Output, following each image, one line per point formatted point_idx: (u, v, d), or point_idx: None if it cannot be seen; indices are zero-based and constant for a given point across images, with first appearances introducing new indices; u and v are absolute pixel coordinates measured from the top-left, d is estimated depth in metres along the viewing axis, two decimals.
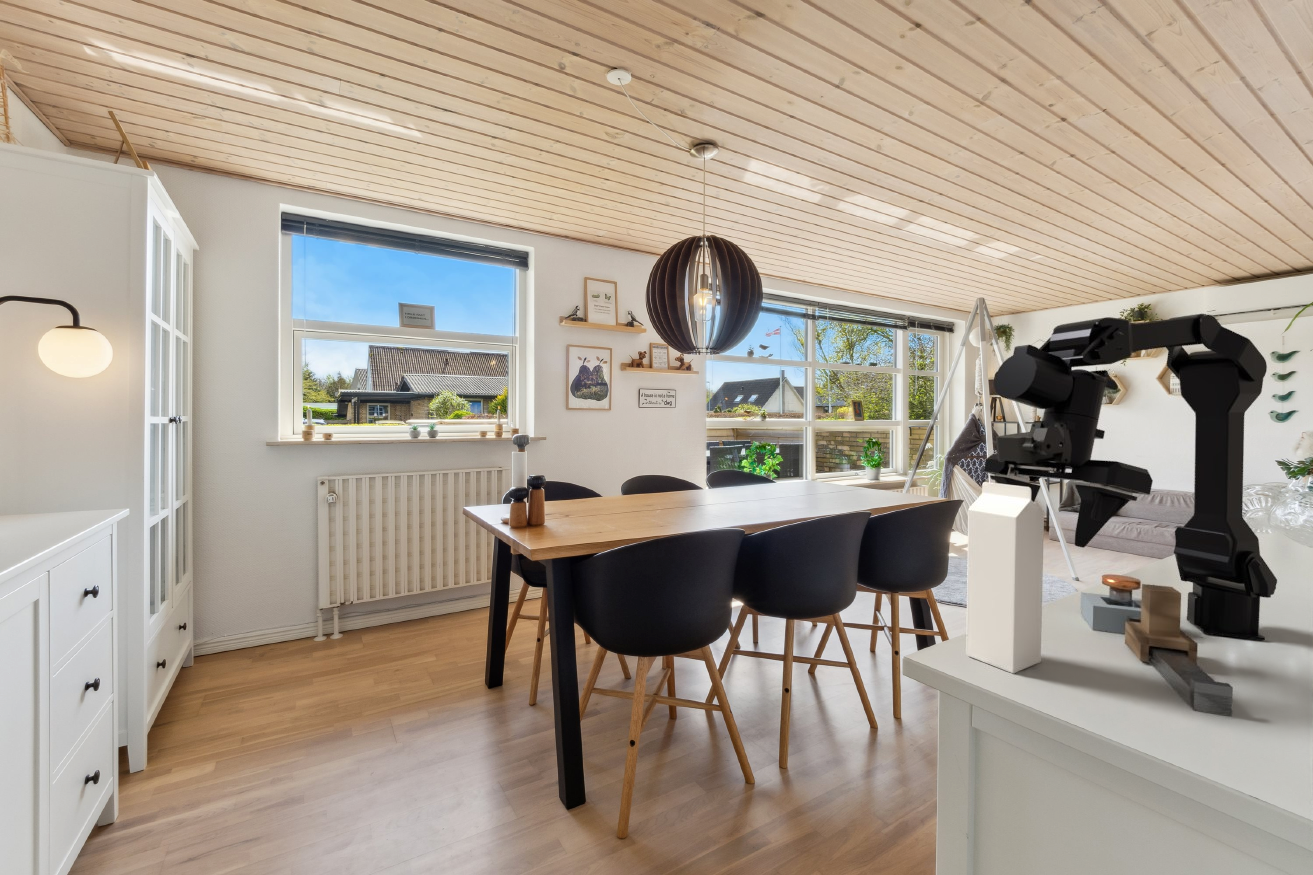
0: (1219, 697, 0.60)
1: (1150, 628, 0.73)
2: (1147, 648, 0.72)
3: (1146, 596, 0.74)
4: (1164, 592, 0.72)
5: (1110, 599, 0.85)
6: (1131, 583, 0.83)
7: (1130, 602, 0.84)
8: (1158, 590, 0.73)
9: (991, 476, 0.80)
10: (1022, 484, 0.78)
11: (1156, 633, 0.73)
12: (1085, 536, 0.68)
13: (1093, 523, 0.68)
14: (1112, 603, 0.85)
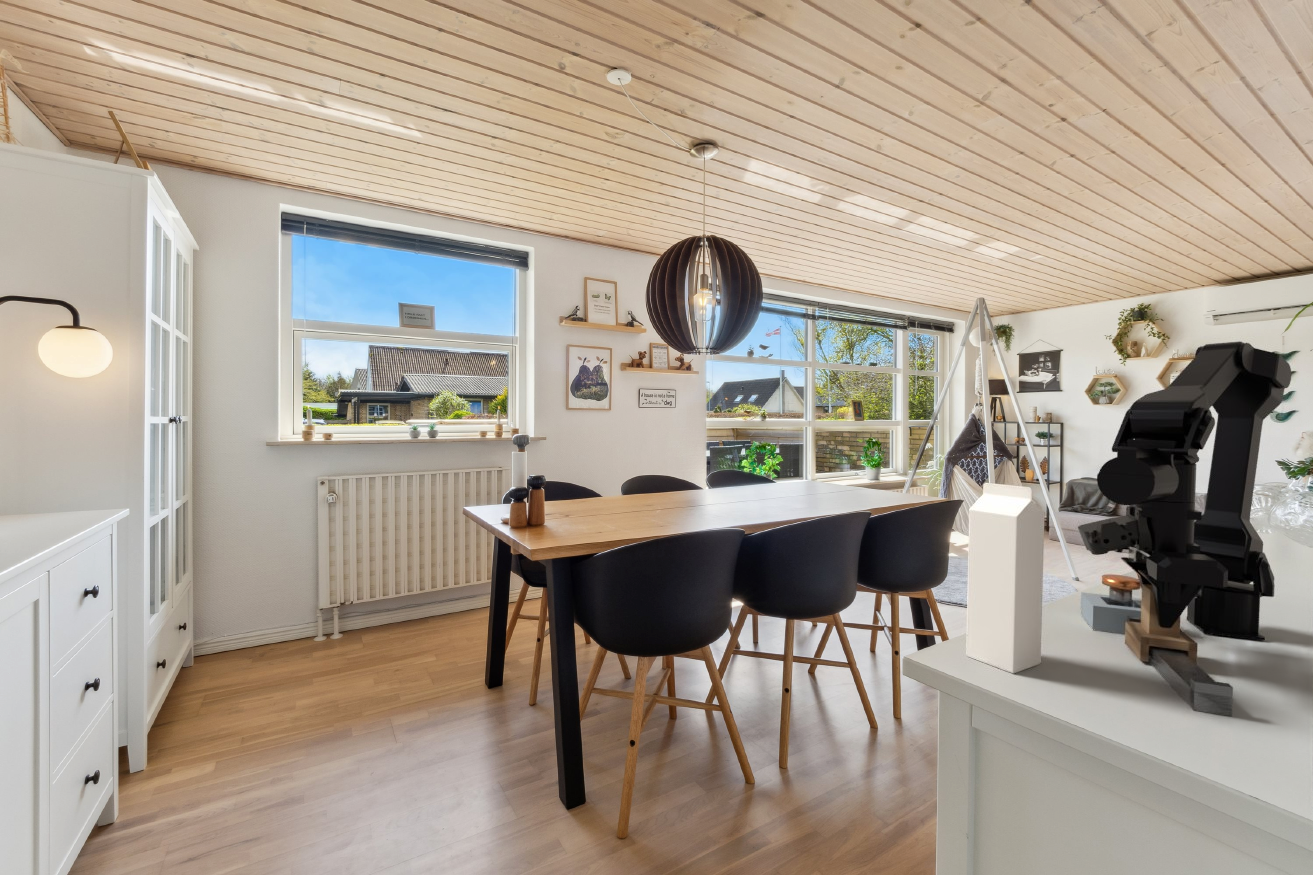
0: (1219, 697, 0.60)
1: (1150, 628, 0.73)
2: (1147, 648, 0.72)
3: (1146, 596, 0.74)
4: None
5: (1110, 599, 0.85)
6: (1131, 583, 0.83)
7: (1130, 602, 0.84)
8: None
9: None
10: None
11: (1156, 633, 0.73)
12: (1166, 618, 0.72)
13: (1170, 606, 0.71)
14: (1112, 603, 0.85)
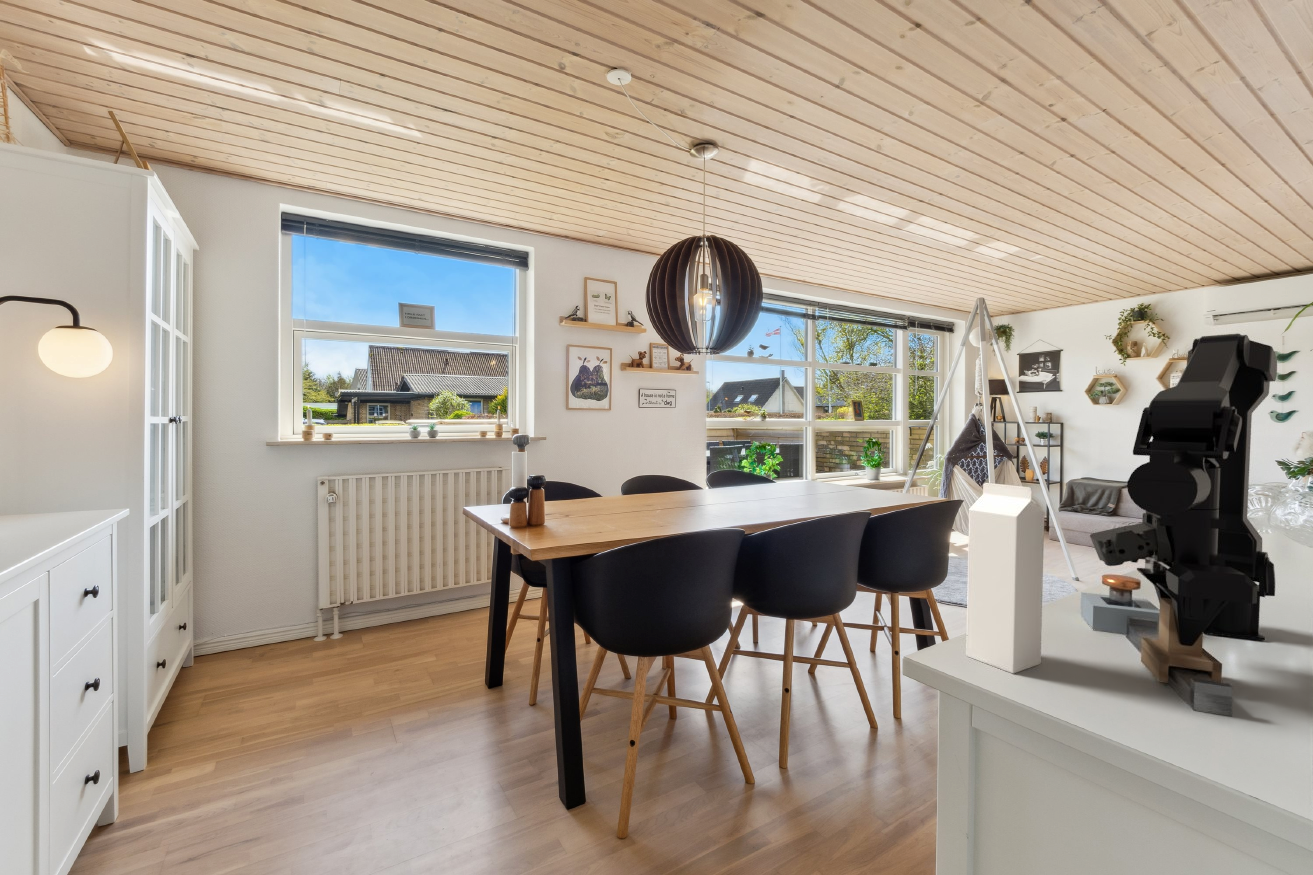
0: (1219, 697, 0.60)
1: (1169, 646, 0.67)
2: (1166, 668, 0.66)
3: (1165, 611, 0.68)
4: None
5: (1110, 599, 0.85)
6: (1131, 583, 0.83)
7: (1130, 602, 0.84)
8: None
9: (1137, 569, 0.73)
10: None
11: (1176, 652, 0.67)
12: (1187, 635, 0.66)
13: (1191, 622, 0.65)
14: (1112, 603, 0.85)
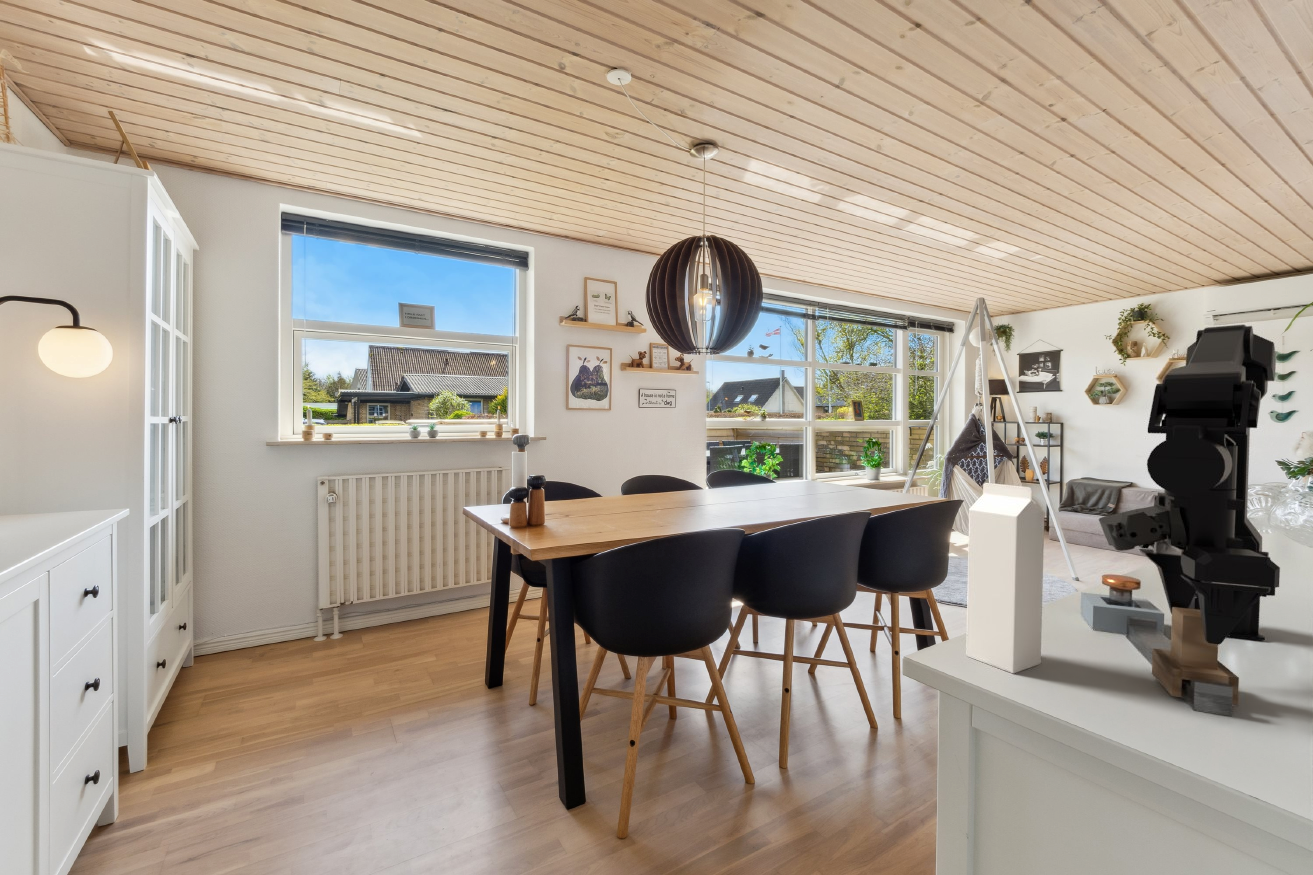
0: (1219, 697, 0.60)
1: (1183, 658, 0.64)
2: (1180, 682, 0.63)
3: (1177, 621, 0.65)
4: (1199, 617, 0.63)
5: (1110, 599, 0.85)
6: (1131, 583, 0.83)
7: (1130, 602, 0.84)
8: (1192, 615, 0.64)
9: (1140, 550, 0.72)
10: (1177, 559, 0.69)
11: (1190, 664, 0.63)
12: (1214, 632, 0.60)
13: (1220, 617, 0.59)
14: (1112, 603, 0.85)
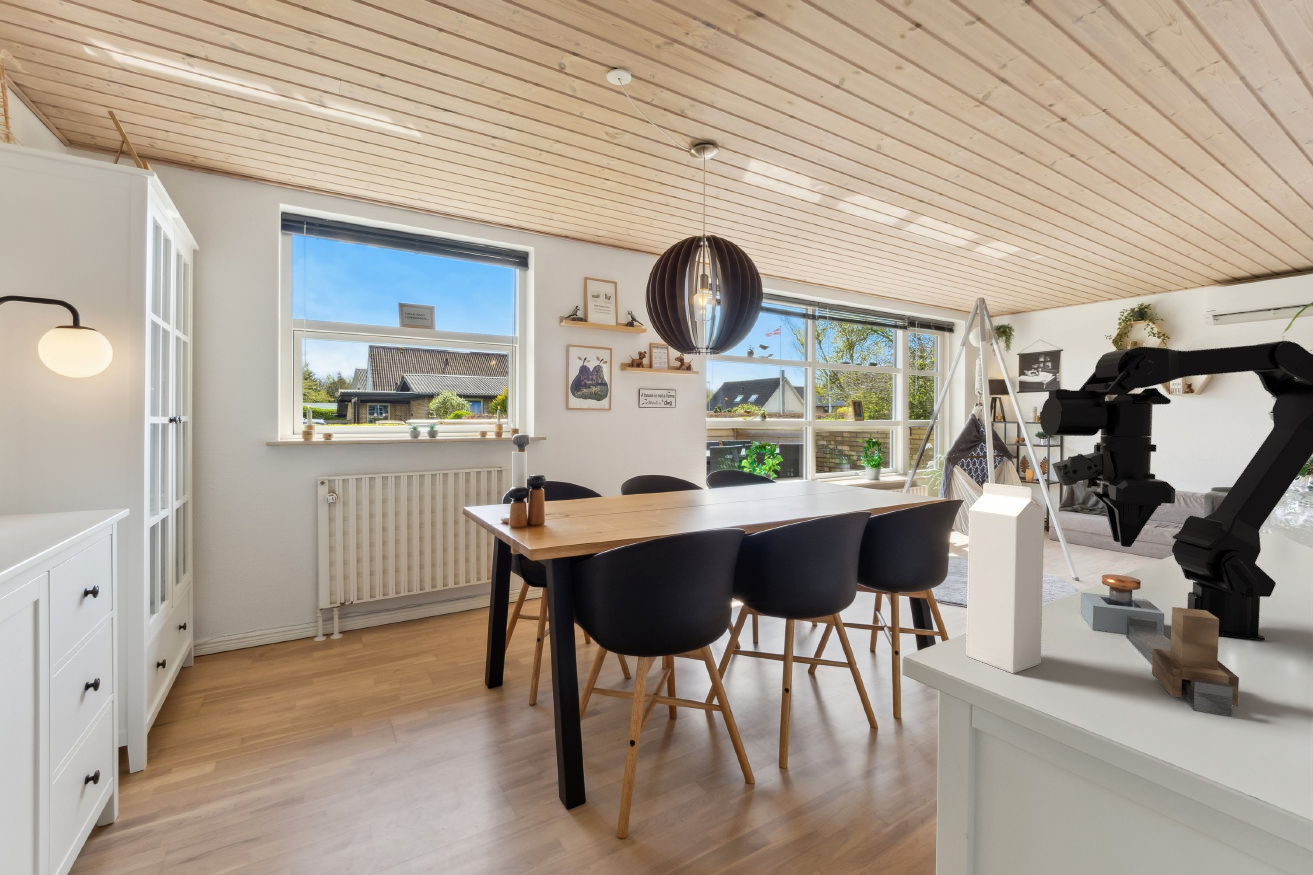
0: (1219, 697, 0.60)
1: (1183, 658, 0.64)
2: (1180, 682, 0.63)
3: (1177, 621, 0.65)
4: (1199, 617, 0.63)
5: (1110, 599, 0.85)
6: (1131, 583, 0.83)
7: (1130, 602, 0.84)
8: (1192, 615, 0.64)
9: (1090, 492, 0.90)
10: None
11: (1190, 664, 0.63)
12: (1126, 538, 0.83)
13: (1129, 527, 0.82)
14: (1112, 603, 0.85)
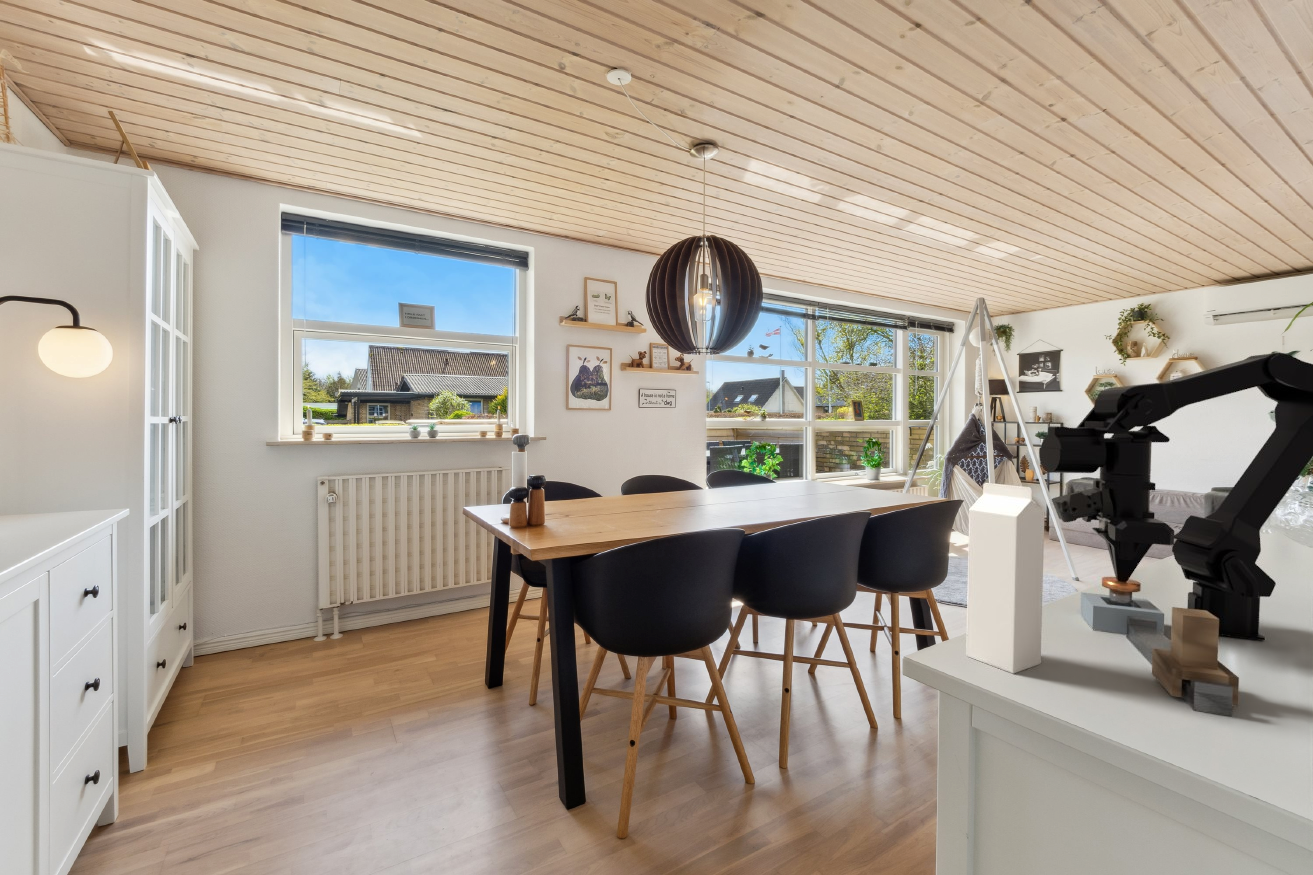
0: (1219, 697, 0.60)
1: (1183, 658, 0.64)
2: (1180, 682, 0.63)
3: (1177, 621, 0.65)
4: (1199, 617, 0.63)
5: (1110, 601, 0.85)
6: (1131, 586, 0.83)
7: (1130, 604, 0.84)
8: (1192, 615, 0.64)
9: None
10: None
11: (1190, 664, 0.63)
12: (1122, 573, 0.84)
13: (1125, 562, 0.84)
14: None
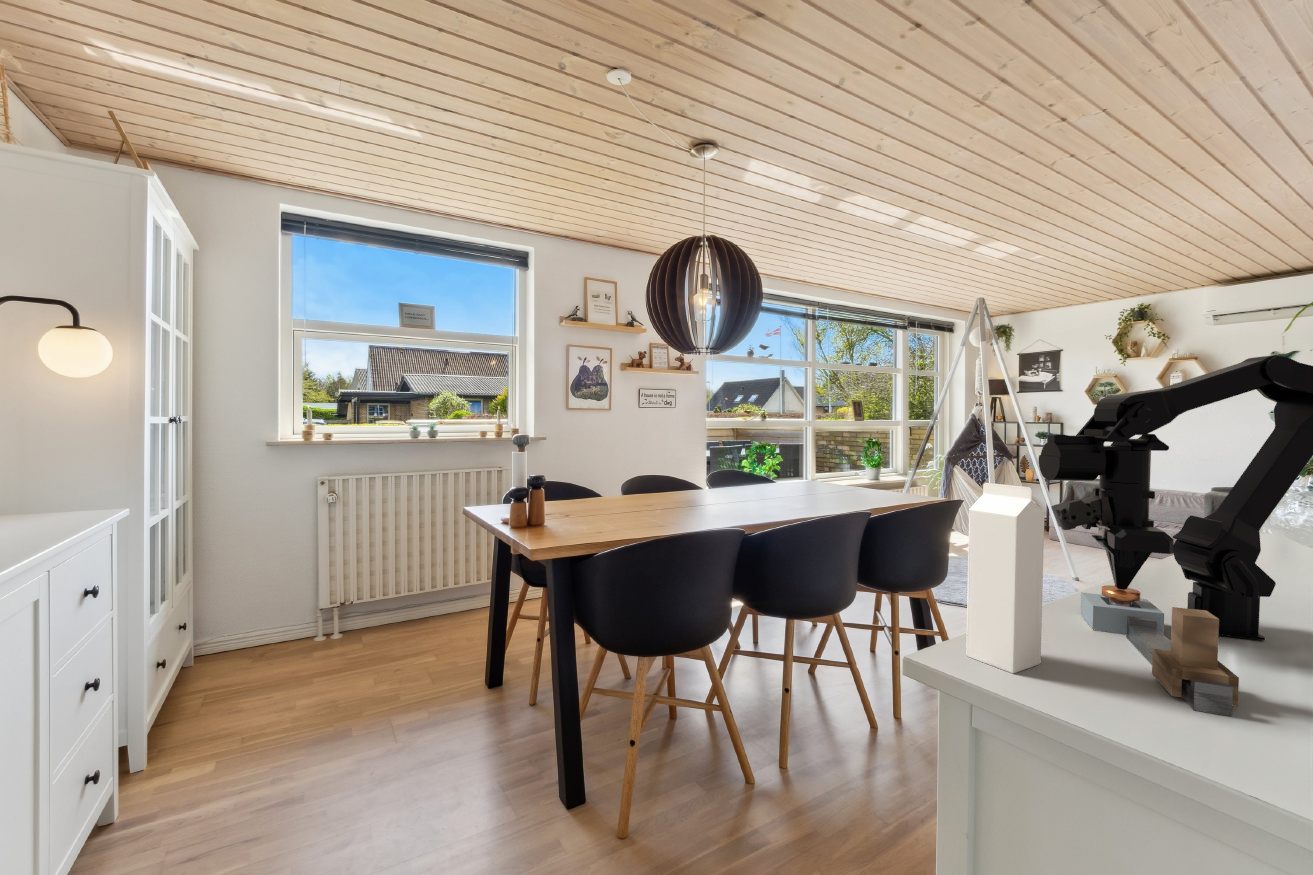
0: (1219, 697, 0.60)
1: (1183, 658, 0.64)
2: (1180, 682, 0.63)
3: (1177, 621, 0.65)
4: (1199, 617, 0.63)
5: None
6: (1130, 595, 0.83)
7: None
8: (1192, 615, 0.64)
9: (1092, 536, 0.89)
10: None
11: (1190, 664, 0.63)
12: (1121, 581, 0.84)
13: (1124, 570, 0.84)
14: None
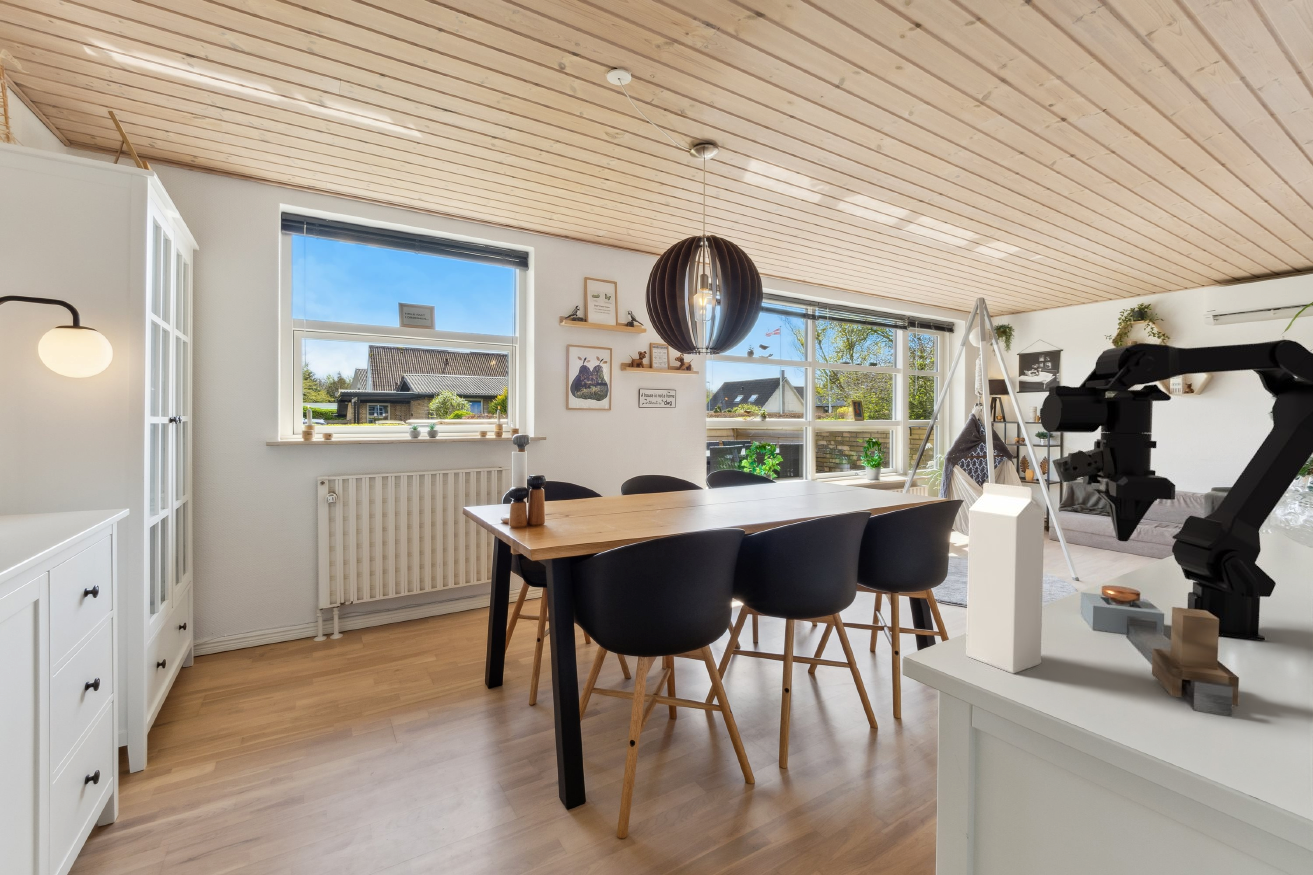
0: (1219, 697, 0.60)
1: (1183, 658, 0.64)
2: (1180, 682, 0.63)
3: (1177, 621, 0.65)
4: (1199, 617, 0.63)
5: None
6: (1130, 595, 0.83)
7: None
8: (1192, 615, 0.64)
9: (1093, 490, 0.88)
10: None
11: (1190, 664, 0.63)
12: (1123, 532, 0.84)
13: (1126, 521, 0.83)
14: None
